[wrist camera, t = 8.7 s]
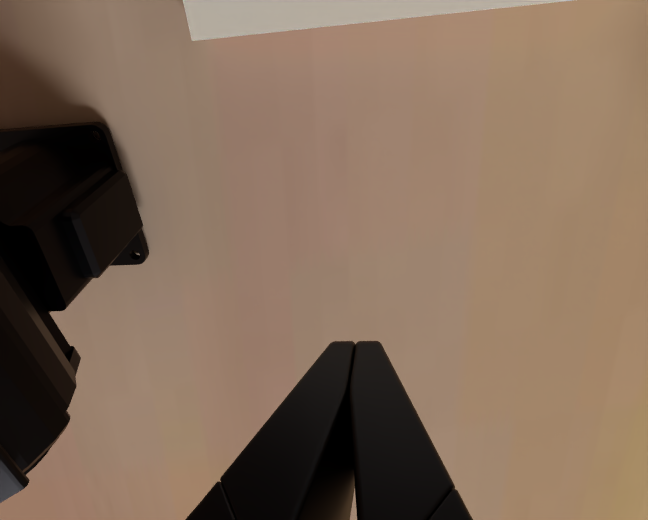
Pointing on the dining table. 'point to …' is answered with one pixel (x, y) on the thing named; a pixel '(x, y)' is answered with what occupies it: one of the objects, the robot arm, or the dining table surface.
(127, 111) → the dining table surface
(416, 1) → the cable board
